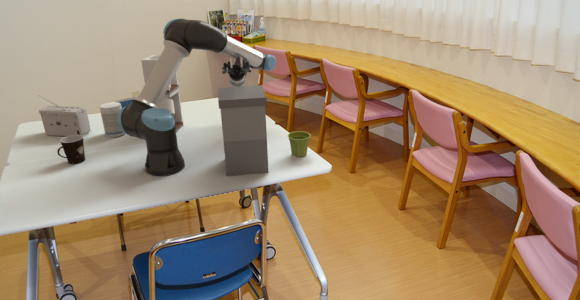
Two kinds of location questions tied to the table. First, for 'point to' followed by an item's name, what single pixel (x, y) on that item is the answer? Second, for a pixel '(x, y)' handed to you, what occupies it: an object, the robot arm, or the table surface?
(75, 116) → the stereo radio cassette player
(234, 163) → the grey box
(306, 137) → the plant pot
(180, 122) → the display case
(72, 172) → the table surface
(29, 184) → the table surface
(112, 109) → the supplement tub
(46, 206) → the table surface
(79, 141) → the coffee mug
